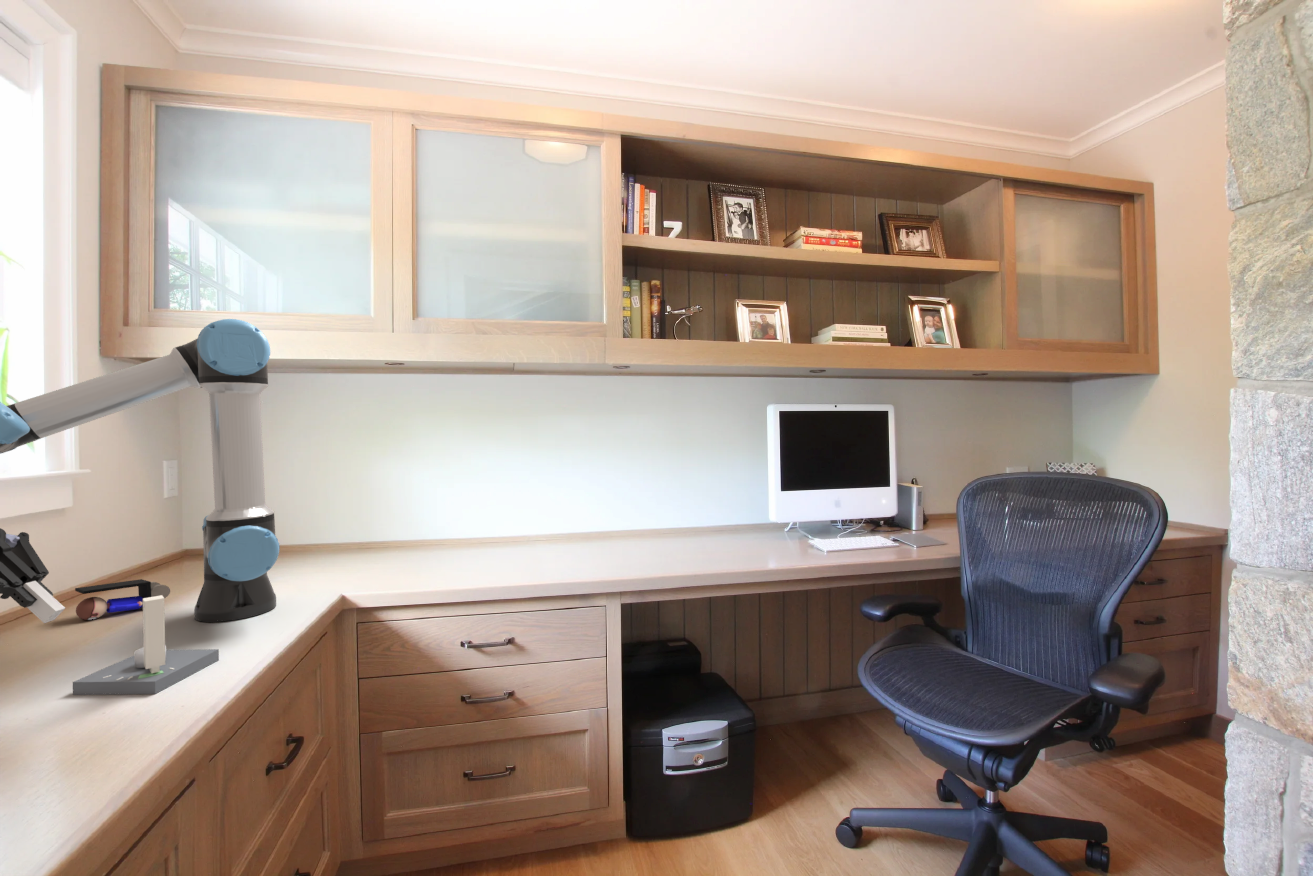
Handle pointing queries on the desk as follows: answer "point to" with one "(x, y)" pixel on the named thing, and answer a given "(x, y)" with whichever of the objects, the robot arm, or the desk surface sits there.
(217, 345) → the robot arm
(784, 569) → the desk surface
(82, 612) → the figurine character
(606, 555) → the desk surface
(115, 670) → the dial plate
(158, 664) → the lever
